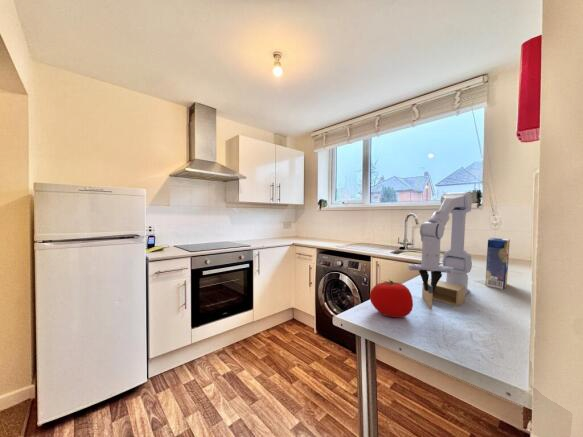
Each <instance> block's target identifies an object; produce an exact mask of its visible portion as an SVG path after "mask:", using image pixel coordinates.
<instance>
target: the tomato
mask: <svg viewBox="0 0 583 437" xmlns="http://www.w3.org/2000/svg"><path fill="white" fill-rule="evenodd" d="M369 301H370V303H371V305H372V306H373V308H374V309H375V310H376V311H377V312H378V313H380V314H382V315H383V316H388V317H390V318H391V317H392V318H405V317H406V316H409V315H410V313H411V312H412V310H413V307H414V303H413V302H414V301H413V296H412V292H411V291H410V289H409V288H408V287H407V286H406V285H404V284H402V283H401V282H394V281H393V280H391V279H388V281H386V280H383V281H382V282H380V283H378V284H376V285H375V286H374V287H373V288H372V289H371V290H370V293H369Z"/></svg>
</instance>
